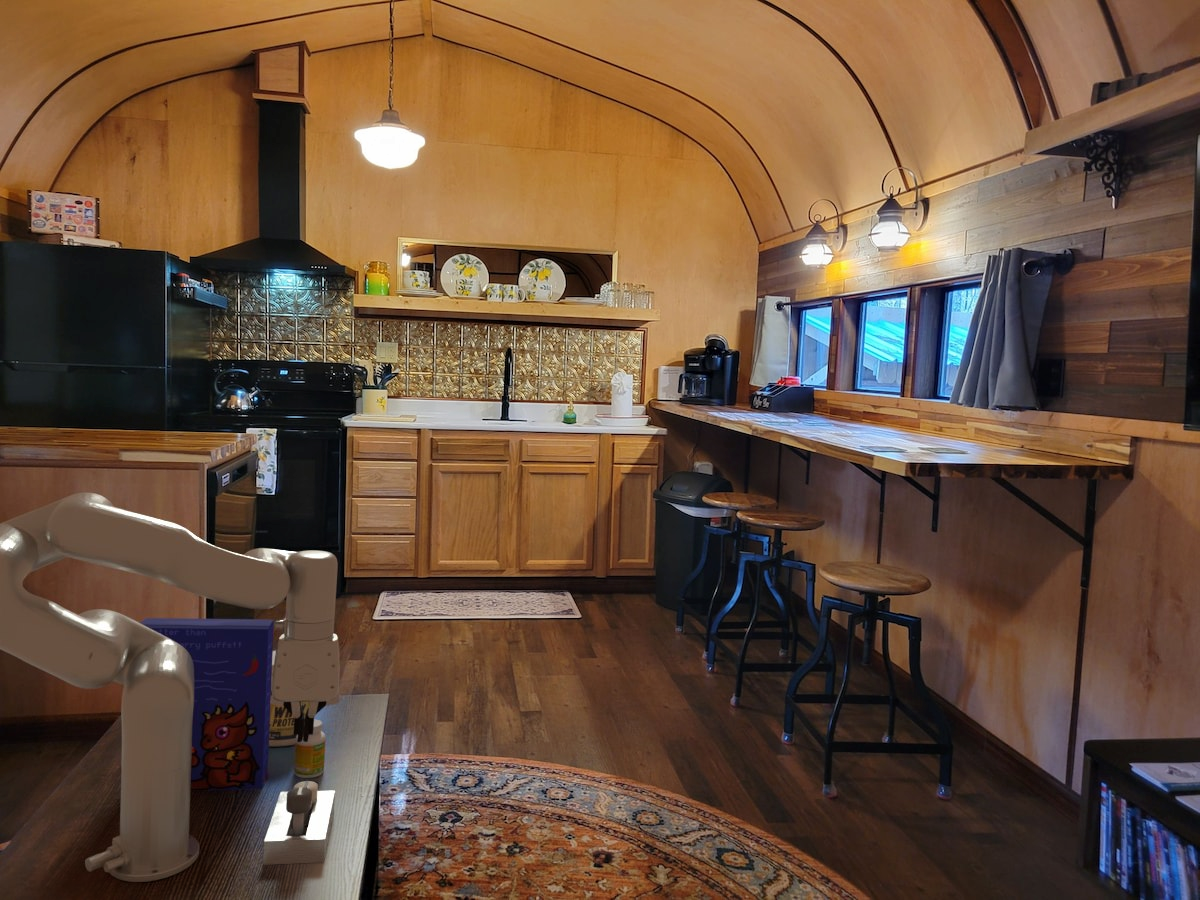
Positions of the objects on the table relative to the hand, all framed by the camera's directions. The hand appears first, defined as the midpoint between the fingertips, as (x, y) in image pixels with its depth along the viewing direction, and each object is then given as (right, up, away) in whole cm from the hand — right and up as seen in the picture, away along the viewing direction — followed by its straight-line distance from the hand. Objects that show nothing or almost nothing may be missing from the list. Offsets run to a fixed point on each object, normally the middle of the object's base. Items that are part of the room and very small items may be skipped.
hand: (303, 738), depth 142 cm
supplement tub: (-18, -13, +39) cm, 45 cm away
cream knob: (-2, -16, +6) cm, 18 cm away
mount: (-1, -17, +2) cm, 17 cm away
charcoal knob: (0, -14, -3) cm, 14 cm away
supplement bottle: (-7, -15, +24) cm, 29 cm away
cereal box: (-24, -14, +17) cm, 33 cm away
